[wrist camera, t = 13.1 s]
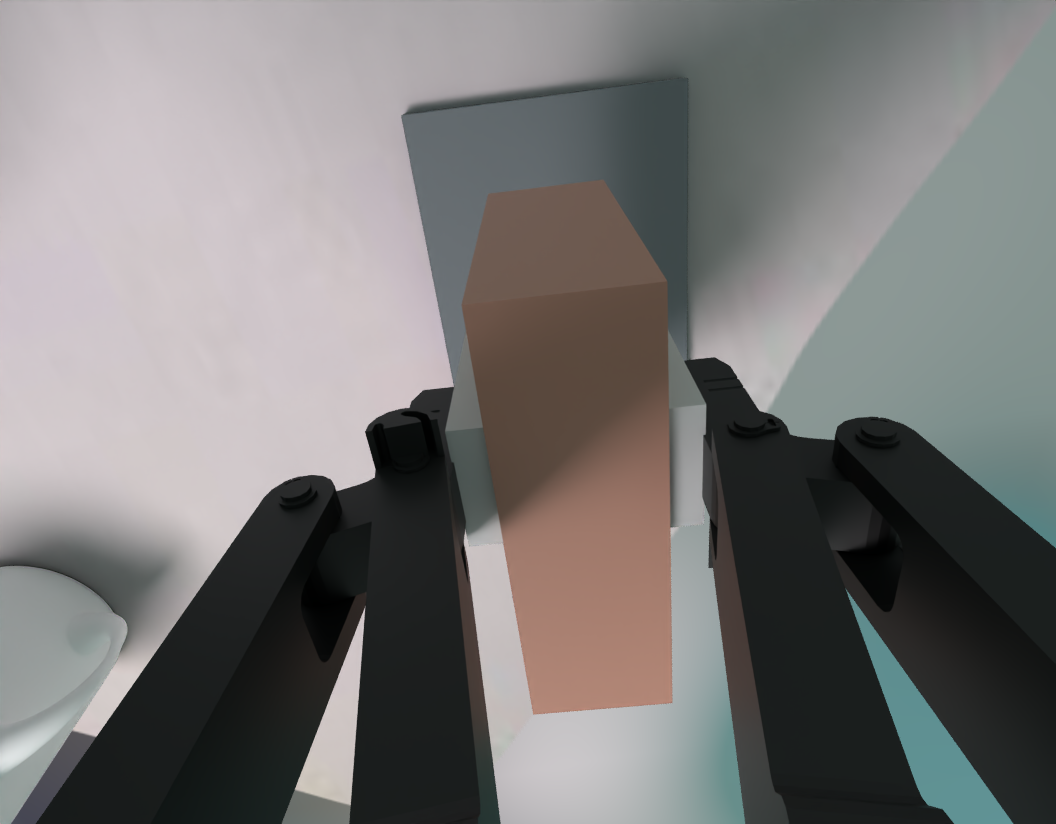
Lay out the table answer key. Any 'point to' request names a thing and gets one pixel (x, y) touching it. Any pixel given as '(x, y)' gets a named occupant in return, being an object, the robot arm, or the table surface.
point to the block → (577, 440)
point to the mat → (554, 176)
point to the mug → (47, 670)
